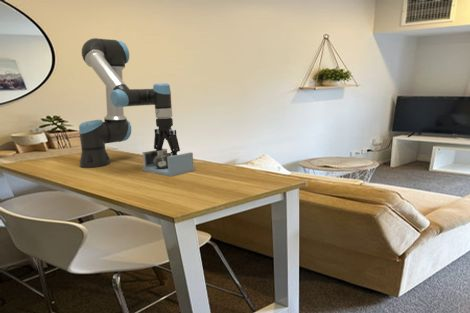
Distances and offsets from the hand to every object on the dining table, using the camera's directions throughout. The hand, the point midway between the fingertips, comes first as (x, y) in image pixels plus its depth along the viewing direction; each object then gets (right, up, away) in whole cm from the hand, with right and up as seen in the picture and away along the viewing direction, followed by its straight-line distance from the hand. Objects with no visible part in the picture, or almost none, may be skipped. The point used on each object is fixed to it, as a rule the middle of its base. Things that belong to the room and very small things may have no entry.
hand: (167, 165), depth 160 cm
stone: (0, -1, +1) cm, 1 cm away
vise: (0, -2, 0) cm, 2 cm away
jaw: (-7, 0, +7) cm, 10 cm away
